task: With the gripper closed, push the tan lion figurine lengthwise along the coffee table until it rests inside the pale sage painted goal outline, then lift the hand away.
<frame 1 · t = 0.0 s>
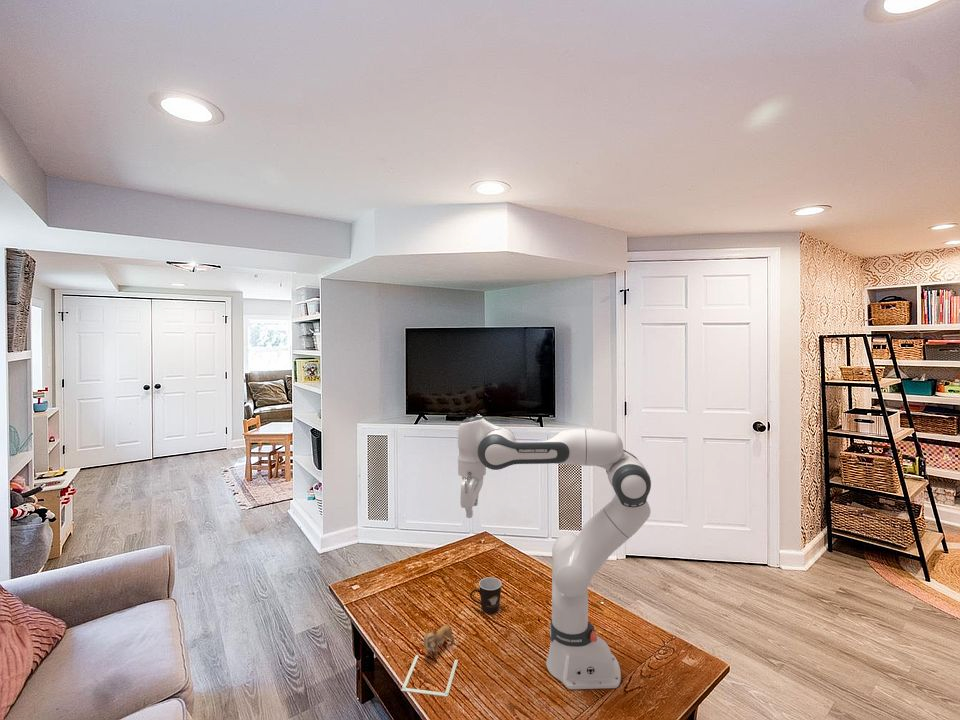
hand: (472, 511, 143), 48 cm above the table, fingers open, 8 cm apart
goal outline: (431, 674, 138), on the table
lion figurine: (439, 652, 148), on the table
coffee mug: (486, 609, 170), on the table
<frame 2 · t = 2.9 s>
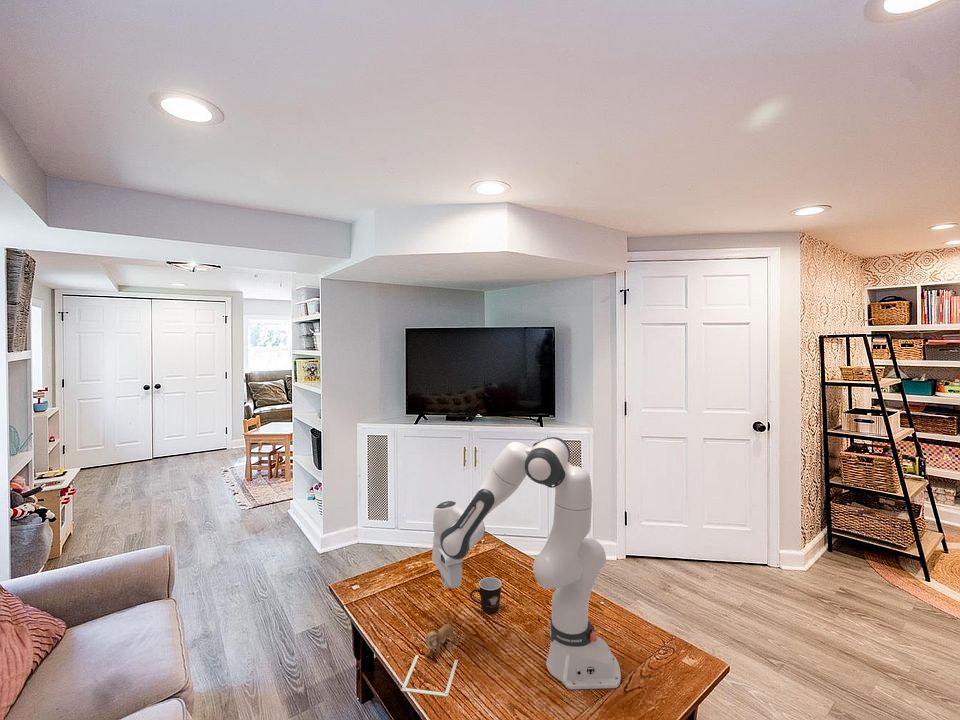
hand: (445, 586, 158), 16 cm above the table, fingers closed
nothing on the table moved.
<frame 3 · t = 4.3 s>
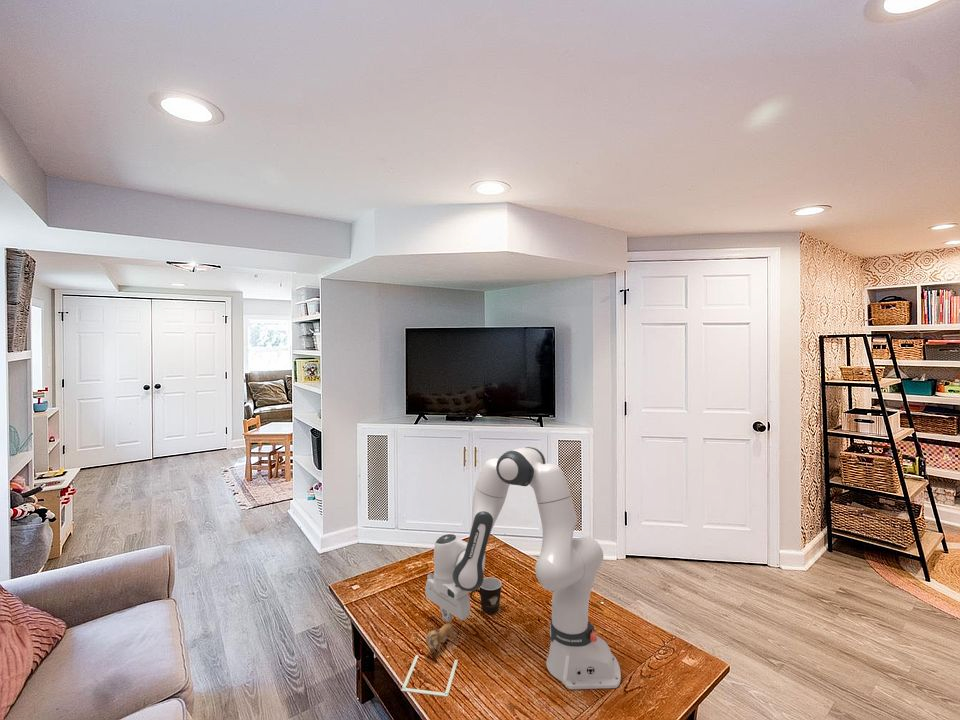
hand: (446, 619, 158), 4 cm above the table, fingers closed
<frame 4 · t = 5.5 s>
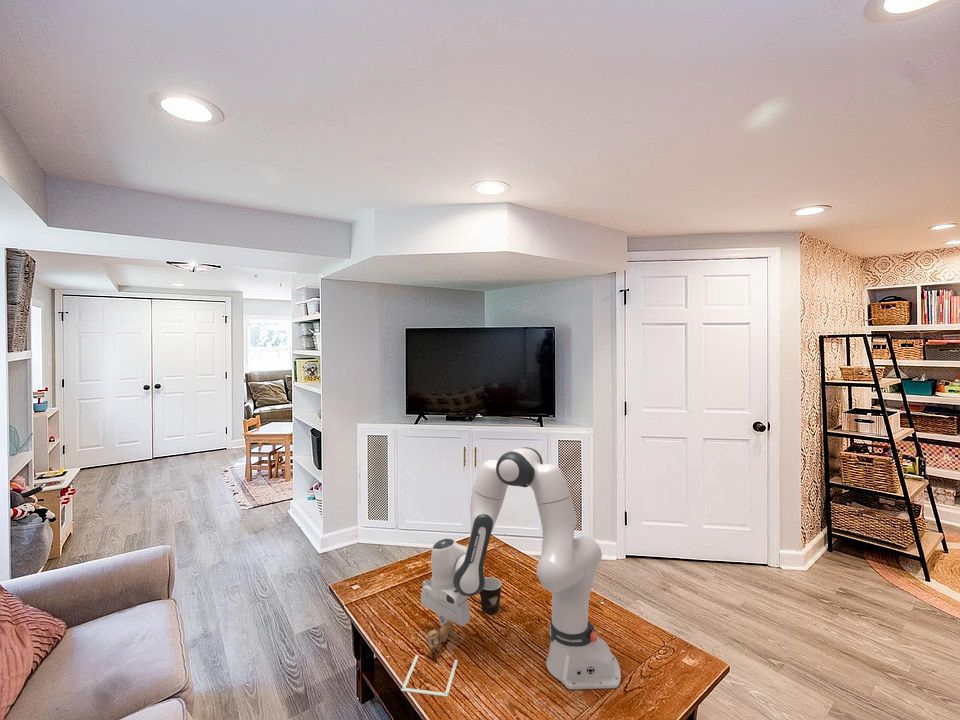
hand: (444, 626, 155), 4 cm above the table, fingers closed
lion figurine: (442, 649, 149), on the table, touching gripper
everything else where it was.
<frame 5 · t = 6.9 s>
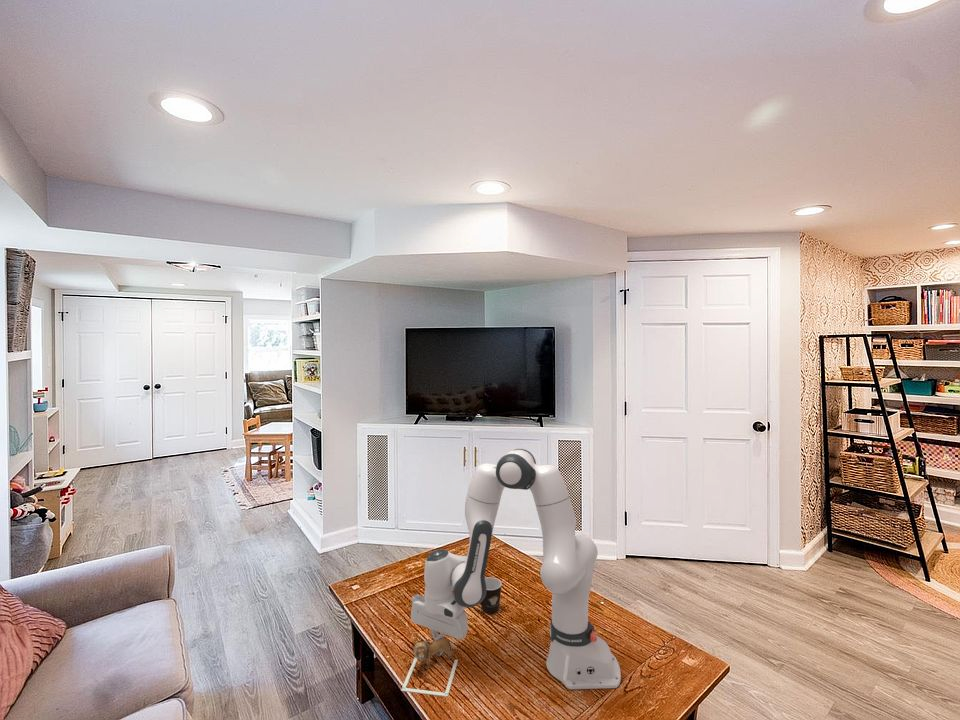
hand: (438, 641, 147), 4 cm above the table, fingers closed
lion figurine: (433, 663, 142), on the table, touching gripper
everything else where it was.
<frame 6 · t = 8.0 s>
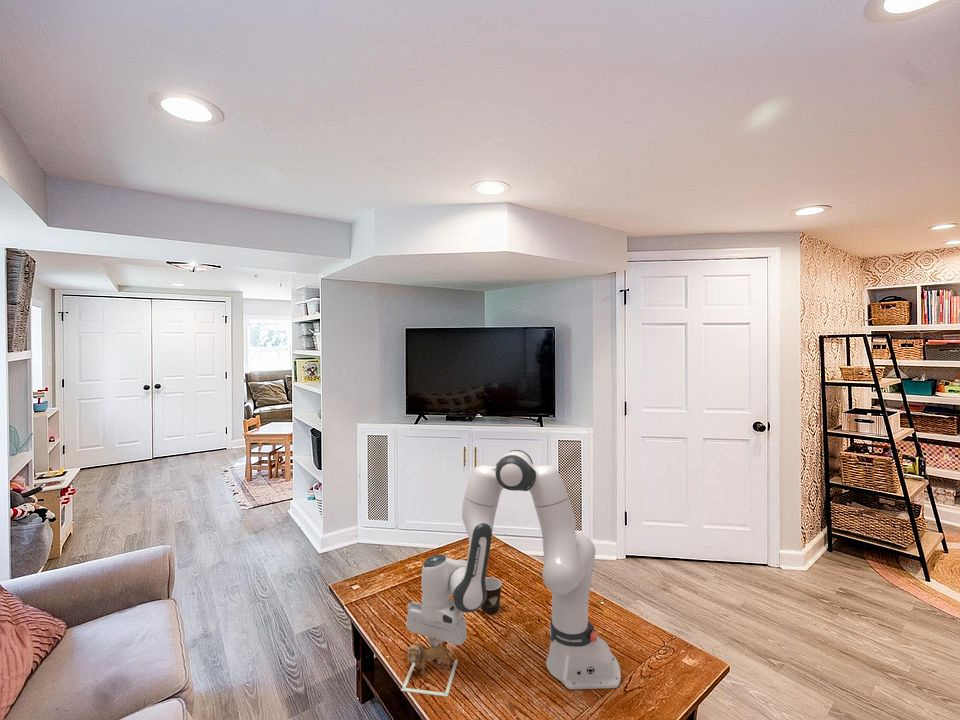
hand: (436, 649, 144), 4 cm above the table, fingers closed
lion figurine: (429, 670, 140), on the table, touching gripper
everything else where it was.
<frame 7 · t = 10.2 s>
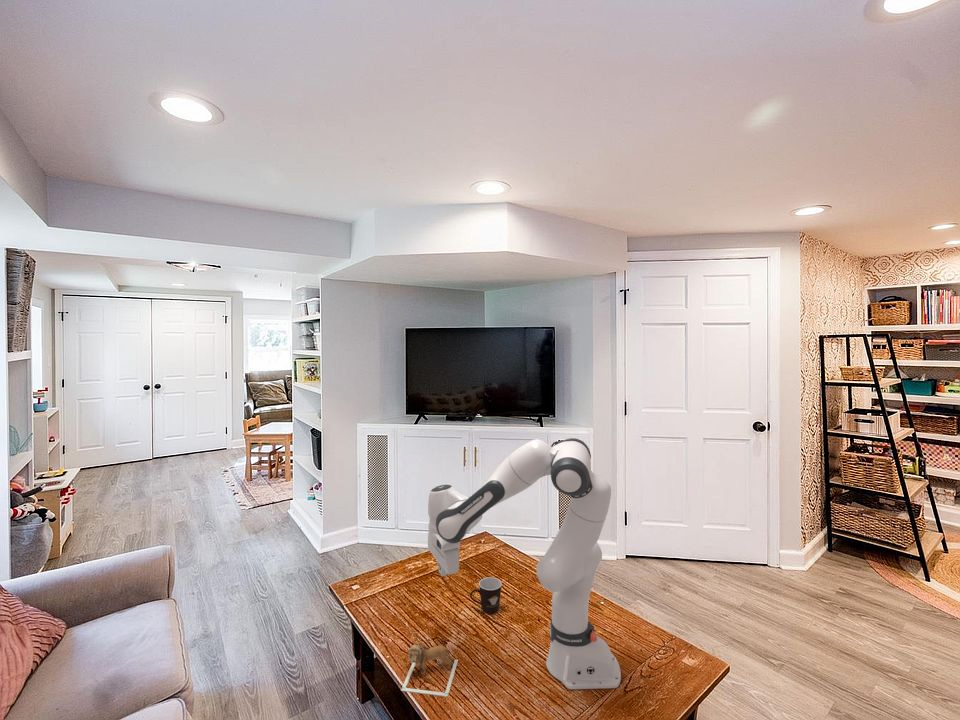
hand: (442, 574, 150), 24 cm above the table, fingers closed
lion figurine: (430, 670, 140), on the table
everything else where it was.
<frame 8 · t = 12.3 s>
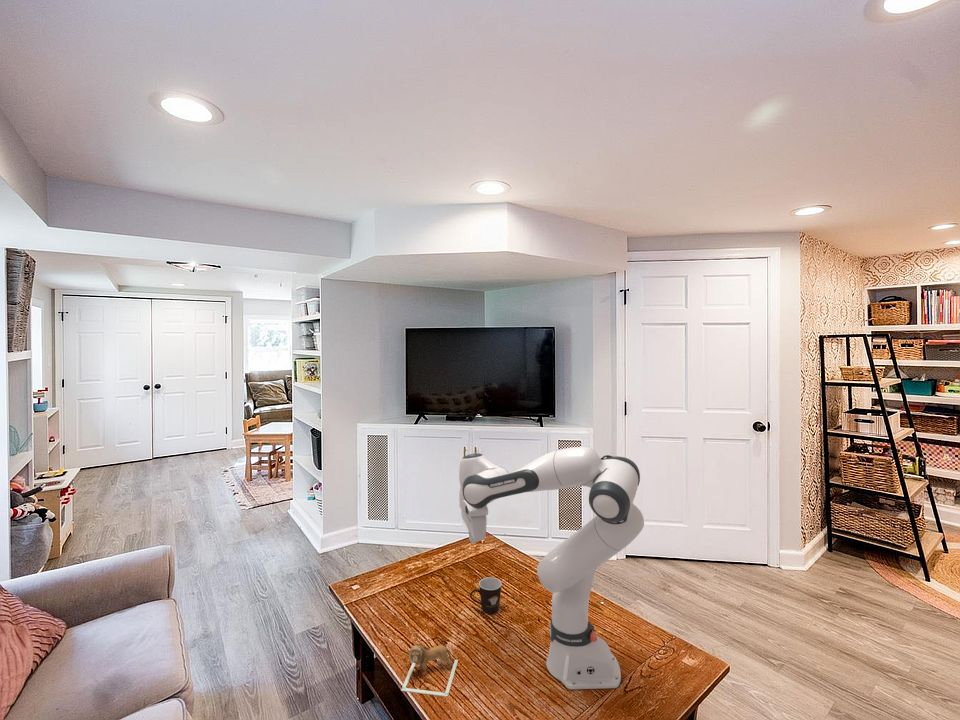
hand: (472, 541, 152), 34 cm above the table, fingers closed
nothing on the table moved.
at the end: lion figurine inside the target area (2.6 cm from its centre), on the table; lion figurine tilted 0°; lion figurine moved 8.2 cm from its start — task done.
